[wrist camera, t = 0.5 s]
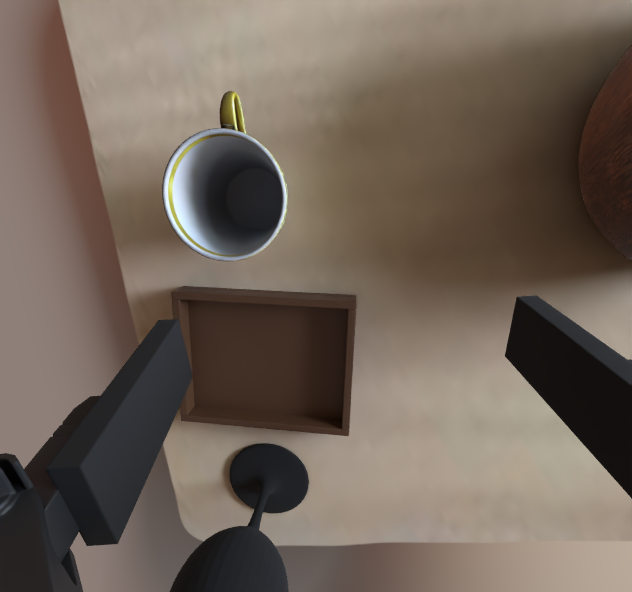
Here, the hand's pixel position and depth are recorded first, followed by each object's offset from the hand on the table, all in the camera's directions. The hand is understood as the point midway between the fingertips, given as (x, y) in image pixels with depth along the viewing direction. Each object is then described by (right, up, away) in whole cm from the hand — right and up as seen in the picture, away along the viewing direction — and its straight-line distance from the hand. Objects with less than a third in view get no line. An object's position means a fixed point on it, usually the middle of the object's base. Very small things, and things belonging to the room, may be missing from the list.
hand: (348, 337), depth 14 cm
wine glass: (-7, -22, +32) cm, 39 cm away
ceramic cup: (-7, +13, +23) cm, 27 cm away
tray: (-7, -5, +27) cm, 29 cm away
